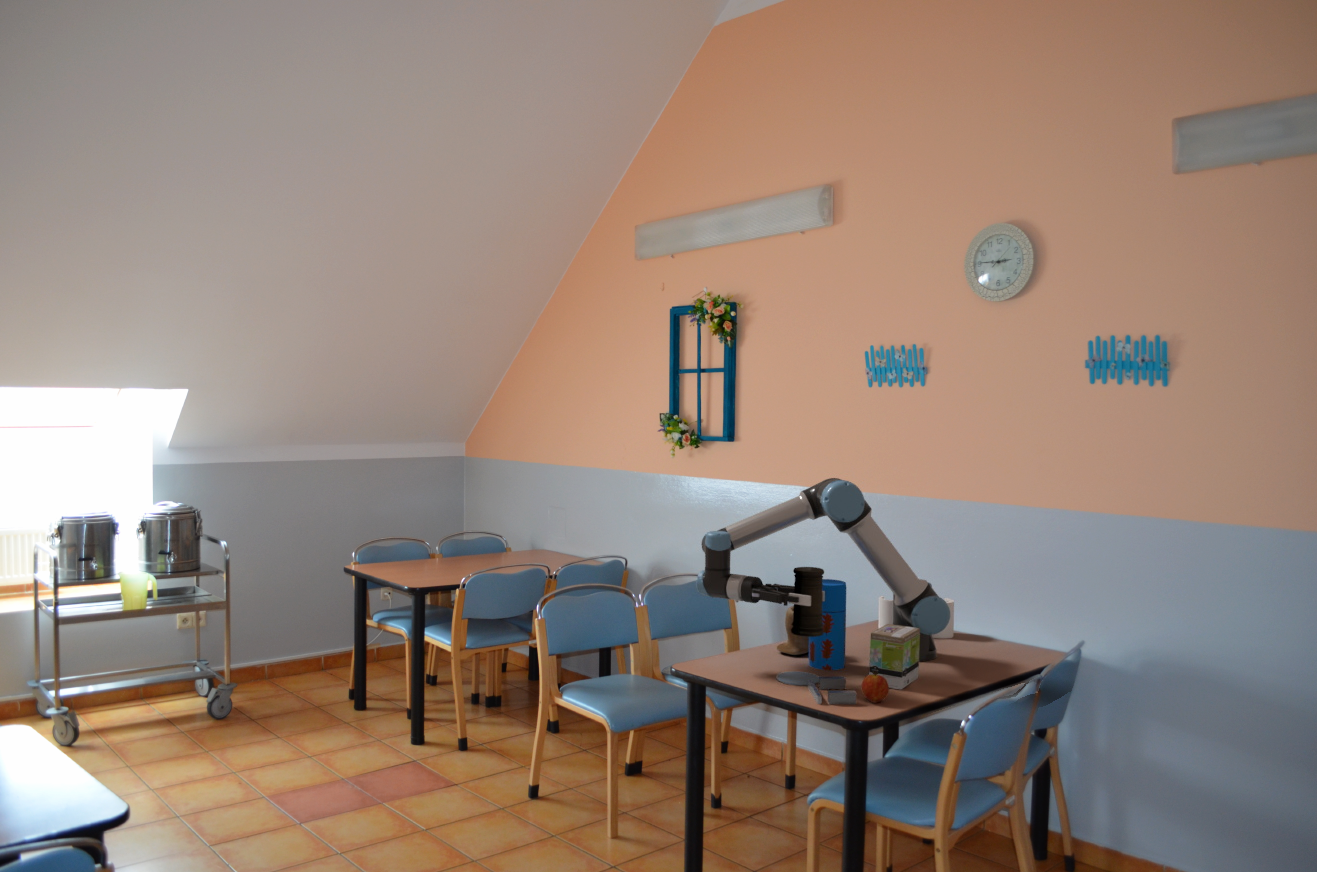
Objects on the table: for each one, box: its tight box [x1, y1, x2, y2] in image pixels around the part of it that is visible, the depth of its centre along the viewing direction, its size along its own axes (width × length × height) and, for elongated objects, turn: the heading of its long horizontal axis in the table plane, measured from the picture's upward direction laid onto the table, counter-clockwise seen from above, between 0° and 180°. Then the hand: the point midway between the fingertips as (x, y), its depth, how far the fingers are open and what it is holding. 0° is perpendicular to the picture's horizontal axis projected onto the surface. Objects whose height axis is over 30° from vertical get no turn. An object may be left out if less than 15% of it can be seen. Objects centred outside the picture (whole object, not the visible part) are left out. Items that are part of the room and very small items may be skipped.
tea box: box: [868, 624, 920, 690], centre depth 268 cm, size 15×10×15 cm, turn 148°
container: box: [791, 566, 825, 637], centre depth 264 cm, size 9×9×18 cm
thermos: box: [808, 578, 847, 671], centre depth 283 cm, size 11×11×25 cm
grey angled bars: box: [807, 675, 857, 705], centre depth 254 cm, size 10×15×3 cm, turn 1°
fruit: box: [861, 671, 890, 703], centre depth 249 cm, size 7×7×8 cm
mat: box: [776, 670, 819, 687], centre depth 269 cm, size 12×12×1 cm
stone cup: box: [775, 604, 809, 656], centre depth 298 cm, size 15×12×15 cm
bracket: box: [878, 595, 955, 639], centre depth 325 cm, size 25×10×12 cm, turn 83°
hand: (817, 598), depth 263 cm, fingers closed on container, 8 cm apart
